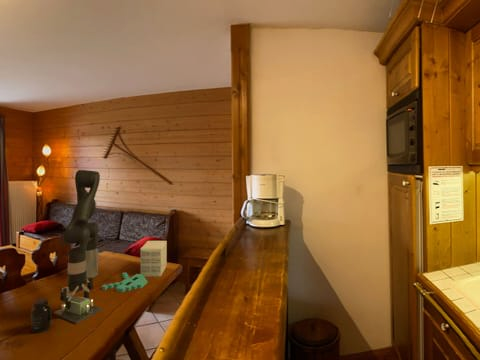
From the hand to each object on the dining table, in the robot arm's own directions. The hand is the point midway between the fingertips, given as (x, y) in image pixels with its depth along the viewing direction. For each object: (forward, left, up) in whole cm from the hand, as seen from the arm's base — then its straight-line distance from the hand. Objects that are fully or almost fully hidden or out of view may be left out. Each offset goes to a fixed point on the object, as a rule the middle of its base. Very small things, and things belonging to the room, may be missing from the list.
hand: (77, 303), depth 125 cm
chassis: (0, 0, -4) cm, 4 cm away
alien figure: (-3, +33, -5) cm, 33 cm away
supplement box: (-3, +54, -4) cm, 54 cm away
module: (0, 0, -3) cm, 3 cm away
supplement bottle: (-2, -15, -4) cm, 15 cm away
